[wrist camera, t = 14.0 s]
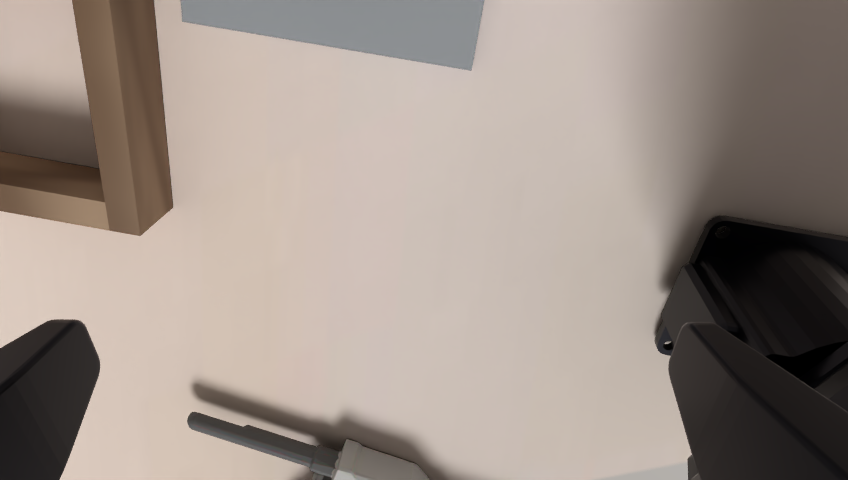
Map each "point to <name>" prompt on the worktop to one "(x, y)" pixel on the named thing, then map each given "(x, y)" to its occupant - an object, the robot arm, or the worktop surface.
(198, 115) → the worktop surface
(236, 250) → the worktop surface
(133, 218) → the square wooden frame
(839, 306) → the robot arm
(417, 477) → the walkie-talkie
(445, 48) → the mat
